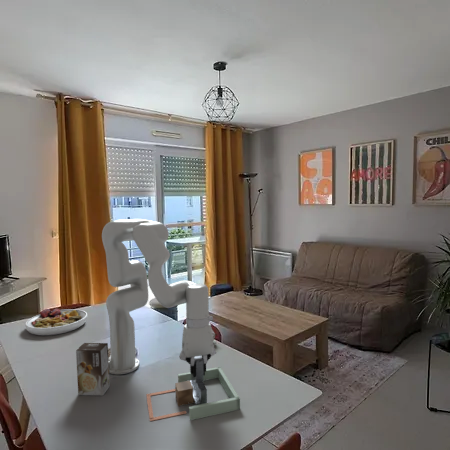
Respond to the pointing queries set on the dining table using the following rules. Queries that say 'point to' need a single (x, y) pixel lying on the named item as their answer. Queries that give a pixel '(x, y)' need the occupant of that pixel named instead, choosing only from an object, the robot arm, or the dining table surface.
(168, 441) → the dining table surface
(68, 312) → the plate of food
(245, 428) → the dining table surface
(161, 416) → the terracotta bay outline
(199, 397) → the rake
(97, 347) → the coffee box
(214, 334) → the game die
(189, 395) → the walnut block
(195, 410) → the sage pen
